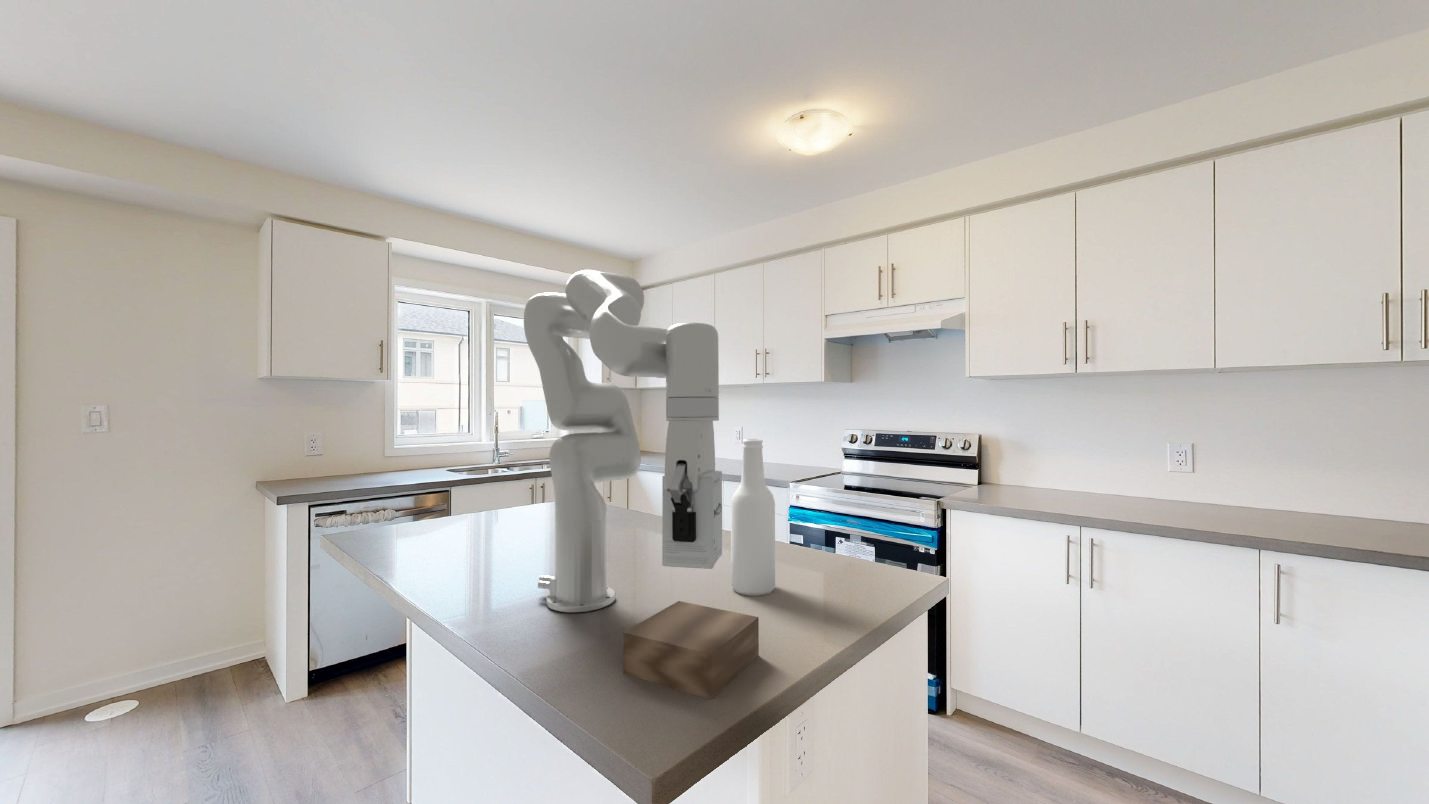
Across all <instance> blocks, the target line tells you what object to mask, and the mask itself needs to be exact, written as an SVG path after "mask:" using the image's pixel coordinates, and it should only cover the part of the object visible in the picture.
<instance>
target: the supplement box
mask: <svg viewBox="0 0 1429 804" xmlns="http://www.w3.org/2000/svg"><path fill="white" fill-rule="evenodd" d="M664 477H665V475H663V476H662V487H661V489H662V491H661V492H662V511H661V512H662V516H661V517H662V521H661V522H662V526H661V527H662V530H661V531H662V532H661V533H662V536H661V537H662V546H661V547H662V551H661V552H662V553H661V554H662V557H661V558H662V560H661V562H662V566H663V567H669V568H684V569H685V568H686V569H705V570H706V569H708V570H712V569H713V568H714V567H715V565H716V563H717V561H718V560H719V559H720V558H721V557H722V555H723V471H721V470H715V471H712V472H710V473H707V474H705V475H703V476H701V482H700V490H699V491H698V492H697V493H695V502H694V509H693V512H696V540H695V541H694V542H679V541H673V539H672V501H671V498H672V497H671V496H672V495H671V492H667V491H666V490H665V487H664ZM691 487H692V482H690V481H689V478H688V476H686V477H685V480H684V483H683V487H682V488H683V489H691ZM668 490H670V489H668ZM686 497H687V500H688V499H689V495H686Z"/></svg>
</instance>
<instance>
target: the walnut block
mask: <svg viewBox="0 0 1429 804" xmlns="http://www.w3.org/2000/svg"><path fill="white" fill-rule="evenodd" d="M759 620H760V619H759V616H755V615H750V614H745V613H741V612H734V611H730V610H727V609H726V610H725V609H721V608H715V607H711V606H707V605H706V606H705V605H701V604H697V603H691V602H688V601H687V602H686V601H681V600H678V601H676V602H674V603H672V604H671V605H669V606H667V607H666V608H663V609H662V610H660V611H658V612H657V613H655V614H653V615H651V616H649V617H648V618H646V619H644V620H642V621H640V622H639V623H637V624H635V625H633V626H632V627H630V628H628V629H627V630H625V631H623V632H622V633H623V635H622V642H623V643H622V649H623V650H622V651H623V652H622V653H623V654H622V656H623V658H622V666H623V668H622V673H623V674H624V675H628V676H631V677H634V678H638V679H641V680H643V681H644V680H645V681H647V682H651V683H653V684H654V683H655V684H657V685H658V684H659V685H661V686H665V687H668V688H670V689H671V688H672V689H675V690H678V691H681V692H685V693H688V694H692V695H694V696H695V695H696V696H699V697H701V698H706V699H709V700H713V699H714V698H715V697H716V696H718V694H719V693H720V692H721V691H723V689H725V687H727V686H728V685H729V684H730V683H732V682H733V680H735V678H737V677H738V676H739V675H740V674H741V673H742V672H743V671H744V670H745V669H746V668H747V667H748V666H749V665H751V664H752V663H753V661H755V660H756V659H757V658H758V657H759V656H760V655H759V651H760V650H759V648H760V647H759V646H760V645H759V644H760V643H759V640H760V639H759V636H760V633H759V631H760V630H759V629H760V628H759V626H760V625H759V623H760V622H759Z"/></svg>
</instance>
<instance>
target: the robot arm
mask: <svg viewBox="0 0 1429 804" xmlns="http://www.w3.org/2000/svg"><path fill="white" fill-rule="evenodd" d="M564 290H565V293H559V292H543V293H537V294H535V295H533V296H532V297H530V298H529V299H528V300H527V303H526V304H525V307H524V311H523V330H524V335H525V339H526V343H527V345H528V348H529V350H530V352H531V354H532V357H533V358H534V360H535V363H536V366H537V367H538V371H539V375H540V381H541V385H542V391H543V395H544V400H545V405H546V411H547V414H548V417H549V420H550V422H551V424H552V425H553V427H555V428H556V429H558V430H562V431H596V432H576V433H570V434H569V433H568V434H565V435H562V436H560V437H558V438H557V439H555V440H554V442H553V443H552V445H551V447H550V449H549V455H548V459H549V460H548V461H549V468H550V473H551V477H552V483H553V484H552V486H553V495H554V576H553V575H548V574H541V575H540V576H539V578H538V583H537V588H538V589H542V590H543V589H544V590H545V589H547V590H548V591H549V594H548V595H547V596H546V599H545V600H546V601H545V602H546V606H547V607H548V608H549V609H551V610H554V611H555V612H561V613H582V612H583V613H584V612H591V611H595V610H599V609H603V608H605V607H608V606H609V605H611V604H612V603H614V601H615V600H616V592H615V590H614V589H612V588H611V587H609V586H608V540H607V539H608V530H607V529H608V523H607V522H608V517H607V515H608V514H607V510H608V509H607V504H606V501H605V499H604V497H603V495H602V494H601V493H600V492H599V490H598V489H597V486H596V484H597V483H602V482H611V481H613V482H614V481H622V480H627V479H631V478H632V477H634V476H636V474H637V473H638V472H639V470H640V467H641V462H642V461H641V460H642V455H641V447H640V443H639V438H638V435H637V430H636V427H635V423H634V419H633V414H632V411H631V410H632V409H631V407H630V406H631V405H630V404H629V400H628V397H627V396H626V394H625V392H624V391H623V389H621V388H620V387H619V386H617V385H616V384H613V383H608V382H607V383H605V382H592V381H589V380H588V379H587V377H586V373H585V370H584V365H583V361H582V359H581V357H580V356H579V355H578V353H577V352H576V351H575V349H574V348H573V347H572V346H571V345H569V344H568V343H567V342H566V341H565V339H564V338H574V339H587V340H589V341H590V346H591V349H592V352H593V354H594V355H595V356H596V357H597V359H598V360H599V361H600V362H601V363H602V364H603V365H604V366H605V367H607V368H608V369H609V370H610V371H612V372H613V373H615V374H618V375H620V376H624V377H633V378H634V377H635V378H637V377H639V378H657V379H665V391H666V392H665V398H666V399H665V404H666V405H665V408H666V409H665V413H666V416H665V417H666V418H665V419H666V422H668V425H667V430H666V438H665V451H664V452H665V455H664V457H665V458H664V476H665V477H664V487H665V490H666V491H667V492H671V495H672V496H671V497H672V498H671V501H672V539H673V541H679V542H694V541H695V540H696V512H693V509H694V502H695V493H697V492H698V491H699V490H700V482H701V476H703V475H705V474H707V473H710V472H712V471H716V448H715V446H716V445H715V431H714V422H715V421H717V422H718V421H720V420H719V419H720V417H719V416H720V409H719V408H720V398H719V397H720V396H719V394H720V391H719V387H720V386H719V385H720V384H719V383H720V382H719V381H720V380H719V376H720V375H719V374H720V373H719V370H720V369H719V366H720V365H719V333H718V330H717V329H716V327H715V326H713V325H712V324H708V323H703V322H682V323H675V324H673V325H670V326H669V327H668V328H660V327H650V326H643V325H641V326H639V324H640V322H641V317H642V311H643V308H644V304H645V294H644V290H643V288H642V285H641V284H640V283H639V282H638V281H637V280H636V279H635V278H633V277H631V276H628V275H624V274H618V273H613V272H605V271H602V270H601V271H599V270H596V269H595V270H594V269H584V270H580V271H577V272H575V273H573V274H572V275H571V276H570V277H569V279H568V280H567V282H566V284H565V289H564ZM598 430H599V431H600V432H597V431H598ZM686 476H688V478H689V481H690V482H692V487H691V489H683V488H682V487H683V483H684V480H685V477H686ZM668 489H670V490H668ZM686 495H689V499H688V500H687V497H686Z"/></svg>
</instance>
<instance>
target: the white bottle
mask: <svg viewBox="0 0 1429 804" xmlns="http://www.w3.org/2000/svg"><path fill="white" fill-rule="evenodd" d="M763 442H764V441H763V439H761V438H760V439H759V438H744V439H743V440H742V443H743V445H742V449H743V451H742V463H741V466H742V467H741V477H740V478H741V479H740V483H739V486H738V487H737V488H736V490H734V493H733V494H732V497H731V501H730V572H731V573H730V576H731V577H730V584H731V585H730V586H731V587H732V589H733V591H734V592H736V593H737V594H739V595H743V596H750V597H751V596H752V597H759V596H766V595H768V594H771V593H772V592H773V591H774V589H775V587H776V502H775V498H774V495H773V492H772V491H771V490H770V489H769V488H768V486H767V484H766V481H765V471H764V470H765V469H764V458H763V456H764V455H763V448H764V446H763Z"/></svg>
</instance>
